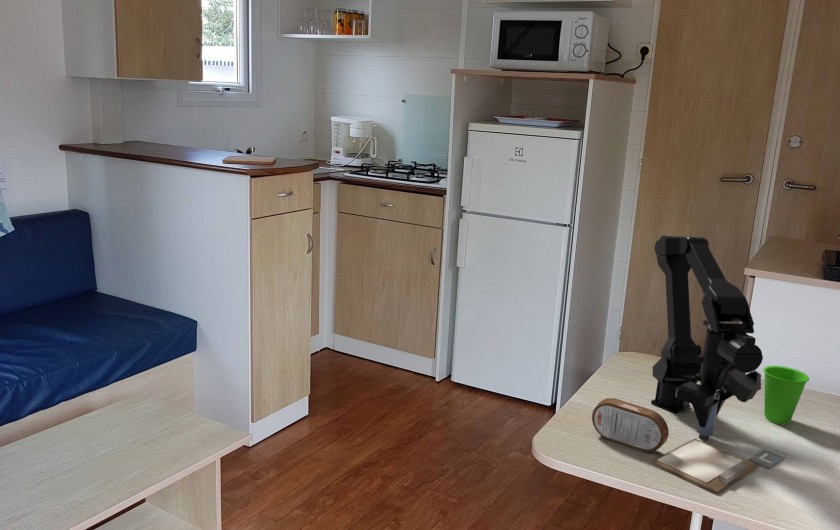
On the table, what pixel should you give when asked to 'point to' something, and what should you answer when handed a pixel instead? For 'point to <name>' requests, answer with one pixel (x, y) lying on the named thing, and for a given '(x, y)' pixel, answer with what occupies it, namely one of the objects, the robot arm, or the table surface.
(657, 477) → the table surface
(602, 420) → the tin
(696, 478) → the clipboard
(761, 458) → the letter tile
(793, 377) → the cup
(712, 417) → the cylinder
